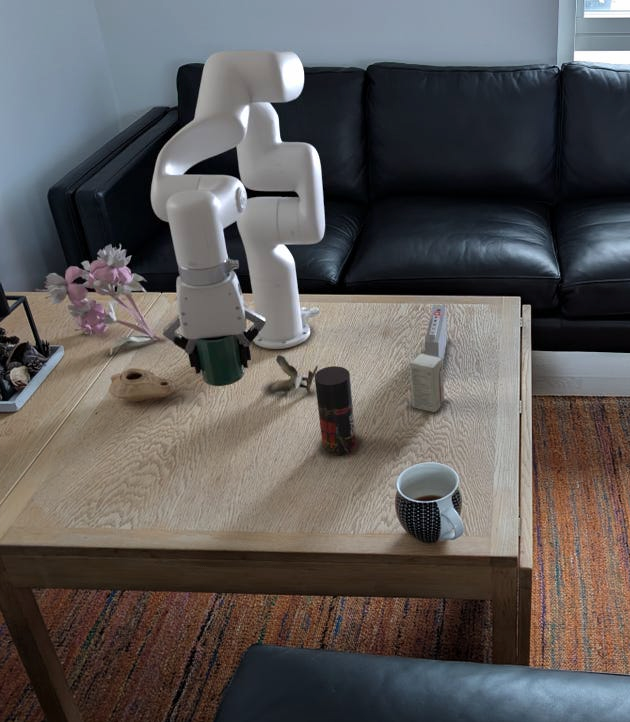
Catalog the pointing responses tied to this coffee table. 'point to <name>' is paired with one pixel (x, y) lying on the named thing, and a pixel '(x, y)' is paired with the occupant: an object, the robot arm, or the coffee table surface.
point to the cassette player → (436, 332)
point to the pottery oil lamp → (139, 385)
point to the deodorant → (335, 410)
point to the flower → (104, 280)
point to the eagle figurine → (294, 380)
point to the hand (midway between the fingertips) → (222, 366)
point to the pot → (220, 360)
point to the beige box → (427, 382)
